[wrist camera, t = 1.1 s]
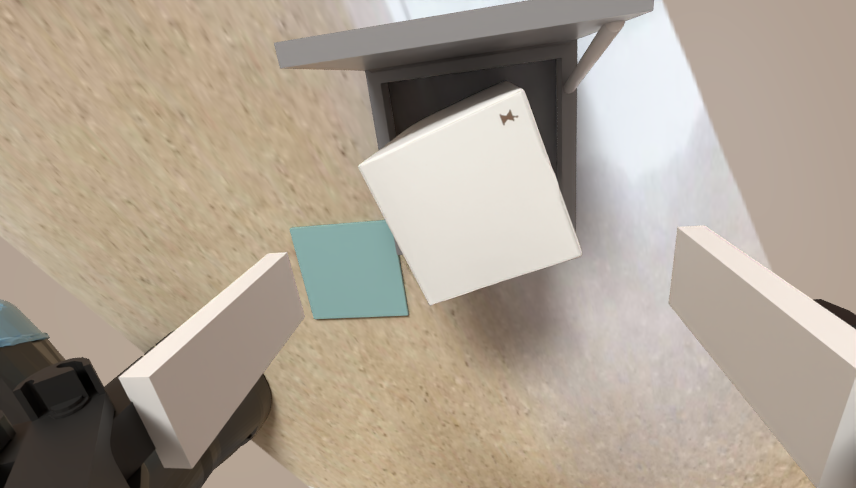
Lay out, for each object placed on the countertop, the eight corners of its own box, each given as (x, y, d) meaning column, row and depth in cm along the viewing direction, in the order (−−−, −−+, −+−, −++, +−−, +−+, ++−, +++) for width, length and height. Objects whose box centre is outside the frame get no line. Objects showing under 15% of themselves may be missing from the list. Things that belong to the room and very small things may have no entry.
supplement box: (405, 126, 33) (349, 161, 20) (508, 77, 31) (526, 80, 17) (448, 221, 36) (426, 311, 23) (546, 184, 34) (587, 258, 20)
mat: (315, 316, 42) (314, 319, 42) (291, 227, 38) (289, 229, 38) (408, 313, 40) (408, 315, 40) (392, 219, 37) (391, 220, 36)
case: (402, 244, 38) (349, 352, 23) (371, 57, 32) (273, 42, 17) (569, 232, 35) (629, 345, 20) (570, 26, 29) (655, -21, 15)
